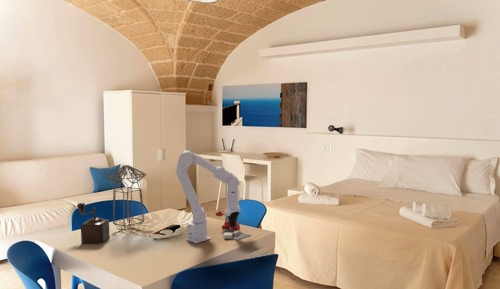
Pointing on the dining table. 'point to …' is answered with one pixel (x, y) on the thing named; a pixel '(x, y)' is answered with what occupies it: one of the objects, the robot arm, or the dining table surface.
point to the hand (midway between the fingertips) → (233, 226)
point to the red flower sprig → (228, 223)
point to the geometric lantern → (127, 192)
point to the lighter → (230, 235)
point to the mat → (240, 236)
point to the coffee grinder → (93, 228)
